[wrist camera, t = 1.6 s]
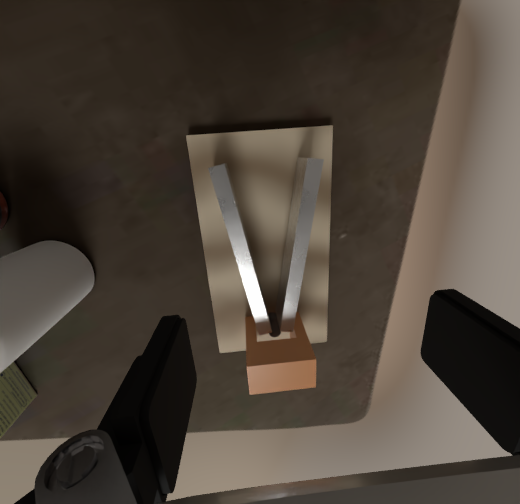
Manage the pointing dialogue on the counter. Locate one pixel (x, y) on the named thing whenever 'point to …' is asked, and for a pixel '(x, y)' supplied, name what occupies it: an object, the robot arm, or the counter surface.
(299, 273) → the jaw
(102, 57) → the counter surface
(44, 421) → the counter surface
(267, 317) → the bar
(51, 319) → the can
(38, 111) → the counter surface
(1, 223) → the supplement bottle
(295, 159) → the tongs board
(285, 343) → the orange notched block
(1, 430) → the box
